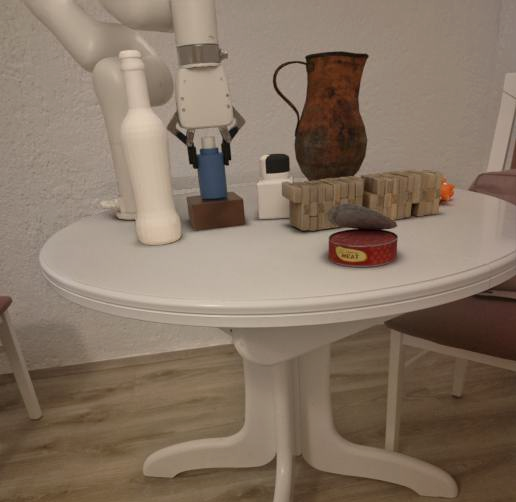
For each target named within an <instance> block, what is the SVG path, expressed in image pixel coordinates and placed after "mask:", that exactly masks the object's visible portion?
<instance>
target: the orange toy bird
mask: <svg viewBox="0 0 516 502" xmlns="http://www.w3.org/2000/svg"><path fill="white" fill-rule="evenodd" d="M447 181H448V179H447V178H445V177H443V179H442V186H441V193H440V201H446V202H449V201H450V200H451V198H452V197H453V196H454V195H455V191H454V189H455V188H456V187H455V186H456V185H455V184H450V183H447Z"/></svg>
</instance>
